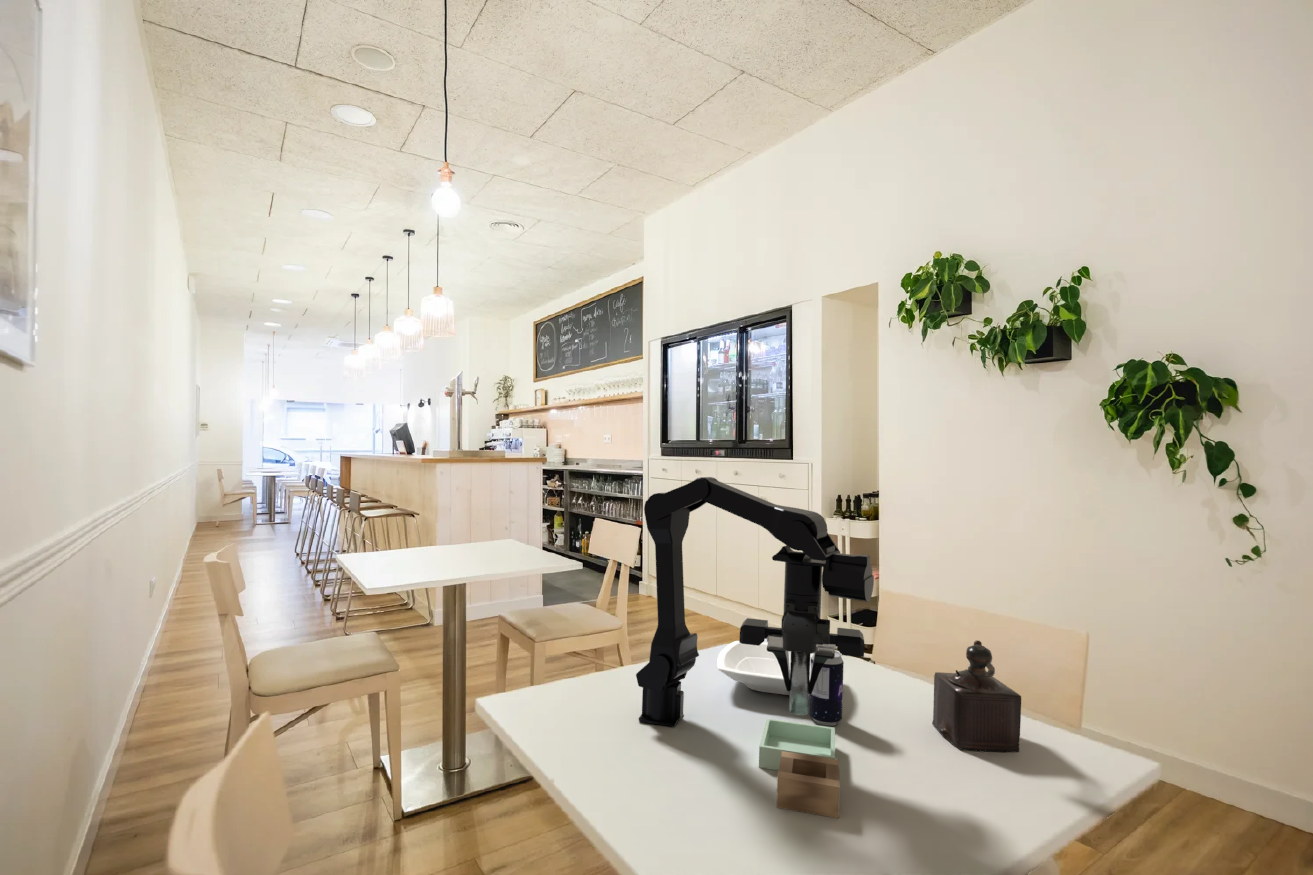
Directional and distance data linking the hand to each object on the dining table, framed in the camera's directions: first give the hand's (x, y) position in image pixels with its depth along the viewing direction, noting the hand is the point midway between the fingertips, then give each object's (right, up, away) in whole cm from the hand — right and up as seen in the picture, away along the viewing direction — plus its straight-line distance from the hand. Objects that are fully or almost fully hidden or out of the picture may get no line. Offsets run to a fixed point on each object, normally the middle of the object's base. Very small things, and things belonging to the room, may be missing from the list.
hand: (799, 691), depth 102 cm
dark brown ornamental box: (+32, -12, +7) cm, 34 cm away
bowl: (+2, -11, +30) cm, 32 cm away
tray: (0, -10, 0) cm, 10 cm away
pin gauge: (0, -3, 0) cm, 3 cm away
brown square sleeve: (-1, -10, -12) cm, 16 cm away
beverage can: (+8, -11, +14) cm, 19 cm away
